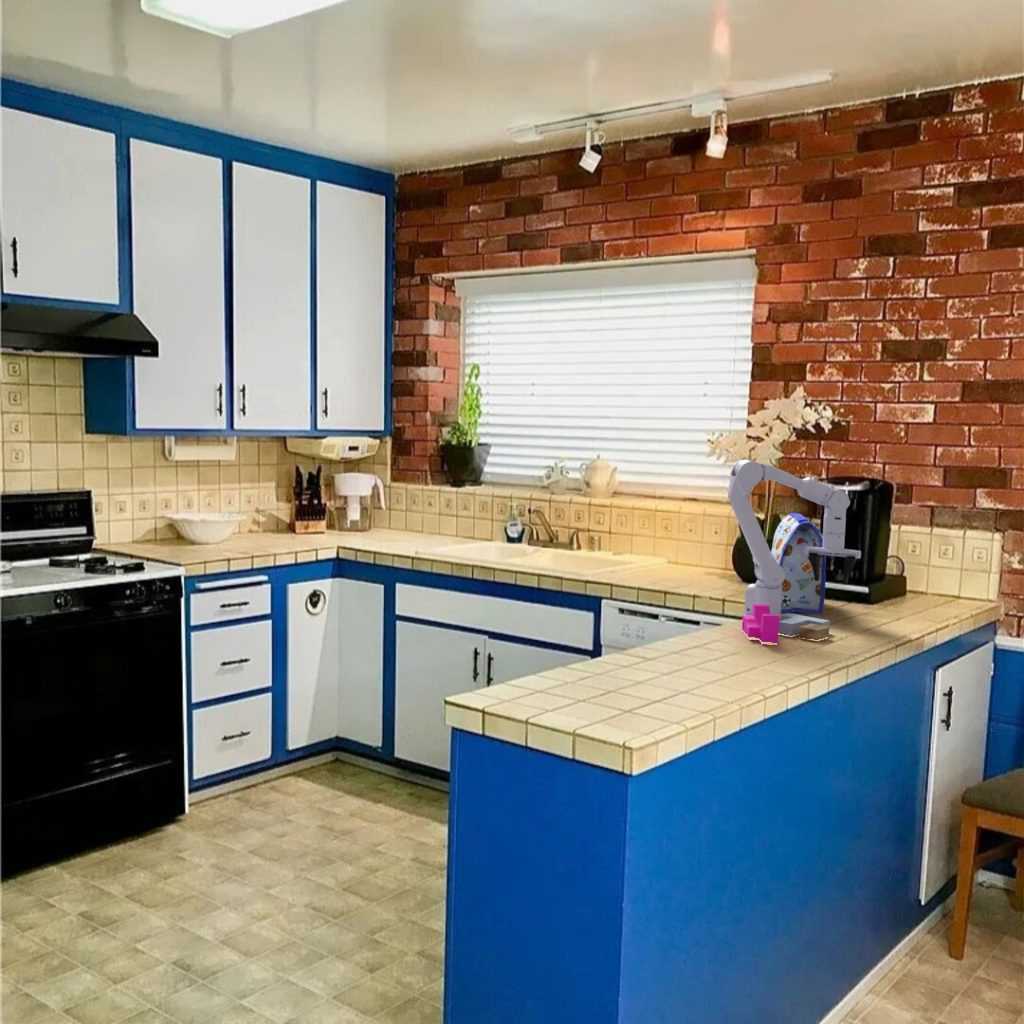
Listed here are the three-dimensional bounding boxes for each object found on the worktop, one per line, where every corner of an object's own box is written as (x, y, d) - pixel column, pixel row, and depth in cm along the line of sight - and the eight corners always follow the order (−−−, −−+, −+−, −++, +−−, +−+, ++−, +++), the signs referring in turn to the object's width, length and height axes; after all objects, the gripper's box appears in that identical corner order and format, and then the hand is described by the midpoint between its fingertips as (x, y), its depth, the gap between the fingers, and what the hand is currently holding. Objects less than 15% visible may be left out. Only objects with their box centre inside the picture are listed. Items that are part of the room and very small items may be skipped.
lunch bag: (833, 615, 291) (839, 520, 288) (773, 612, 293) (778, 518, 290) (817, 600, 314) (822, 512, 311) (762, 598, 315) (766, 510, 312)
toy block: (741, 632, 267) (743, 603, 266) (766, 633, 266) (767, 604, 265) (751, 645, 252) (753, 615, 251) (777, 646, 251) (779, 616, 251)
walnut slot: (753, 629, 269) (754, 618, 269) (765, 626, 273) (766, 615, 273) (816, 642, 256) (817, 630, 256) (828, 638, 260) (829, 626, 260)
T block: (763, 632, 266) (763, 618, 266) (787, 626, 275) (788, 613, 275) (805, 640, 258) (805, 626, 258) (828, 633, 266) (829, 620, 266)
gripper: (803, 532, 282) (800, 581, 284) (858, 536, 275) (855, 587, 277) (809, 529, 289) (807, 577, 290) (863, 534, 281) (860, 583, 283)
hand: (831, 582), depth 284 cm, fingers open, 7 cm apart
